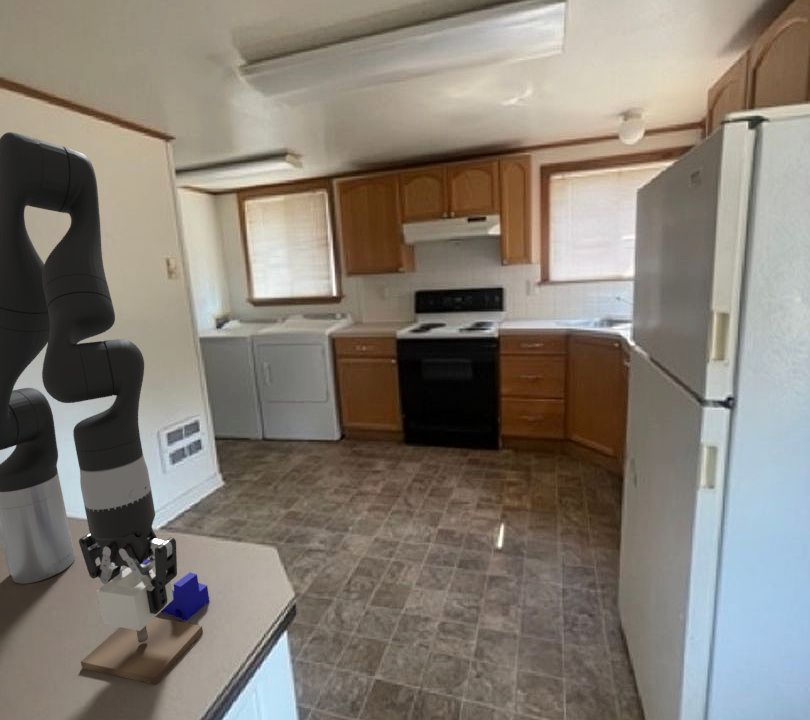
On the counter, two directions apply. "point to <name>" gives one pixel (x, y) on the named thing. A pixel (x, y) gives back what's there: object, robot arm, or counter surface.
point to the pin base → (143, 650)
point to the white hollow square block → (127, 601)
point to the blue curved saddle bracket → (186, 597)
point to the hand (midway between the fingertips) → (138, 606)
